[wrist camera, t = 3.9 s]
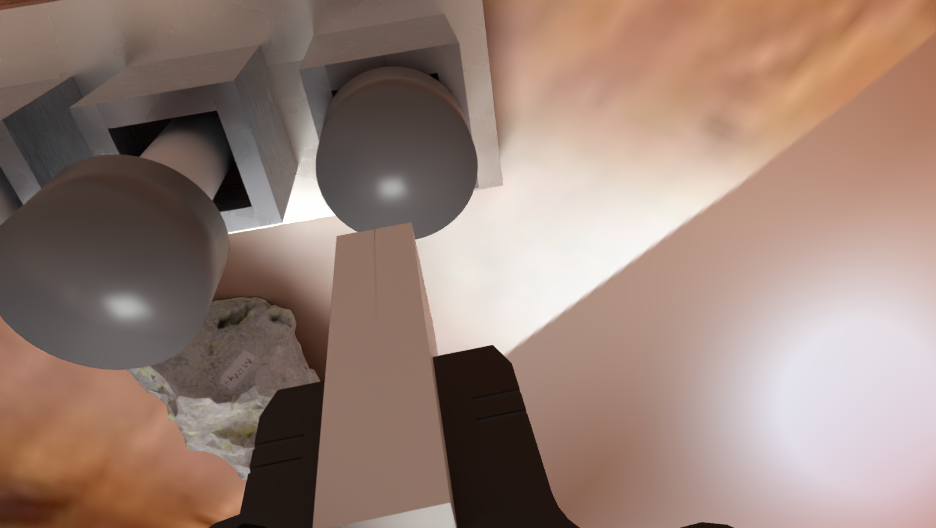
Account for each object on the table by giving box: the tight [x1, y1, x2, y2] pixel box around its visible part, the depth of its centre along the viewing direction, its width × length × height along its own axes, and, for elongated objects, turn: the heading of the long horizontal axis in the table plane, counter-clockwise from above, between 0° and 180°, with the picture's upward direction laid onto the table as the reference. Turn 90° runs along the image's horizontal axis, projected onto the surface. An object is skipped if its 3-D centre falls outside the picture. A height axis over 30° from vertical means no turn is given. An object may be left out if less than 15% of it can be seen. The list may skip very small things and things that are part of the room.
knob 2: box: [315, 66, 478, 239], centre depth 21 cm, size 5×5×10 cm
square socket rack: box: [0, 0, 503, 234], centre depth 23 cm, size 22×10×7 cm, turn 98°
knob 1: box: [0, 112, 234, 370], centre depth 18 cm, size 5×5×10 cm
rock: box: [127, 297, 320, 481], centre depth 31 cm, size 16×7×7 cm, turn 36°
